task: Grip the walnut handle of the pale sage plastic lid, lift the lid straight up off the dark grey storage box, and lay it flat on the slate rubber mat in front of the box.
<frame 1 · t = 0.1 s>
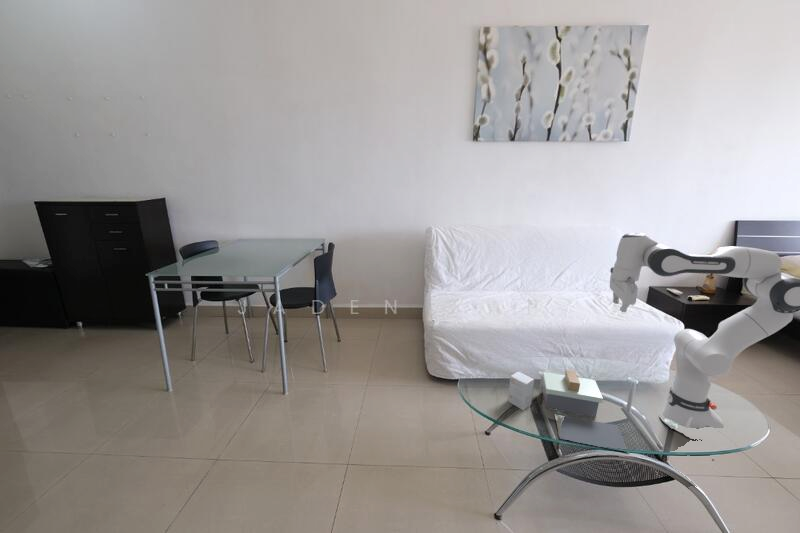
hand: (619, 307, 142), 48 cm above the table, fingers open, 8 cm apart
storage box: (567, 403, 158), on the table
lid: (570, 388, 156), point 8 cm above the table, touching storage box
mat: (588, 432, 141), on the table
small box: (519, 403, 158), on the table
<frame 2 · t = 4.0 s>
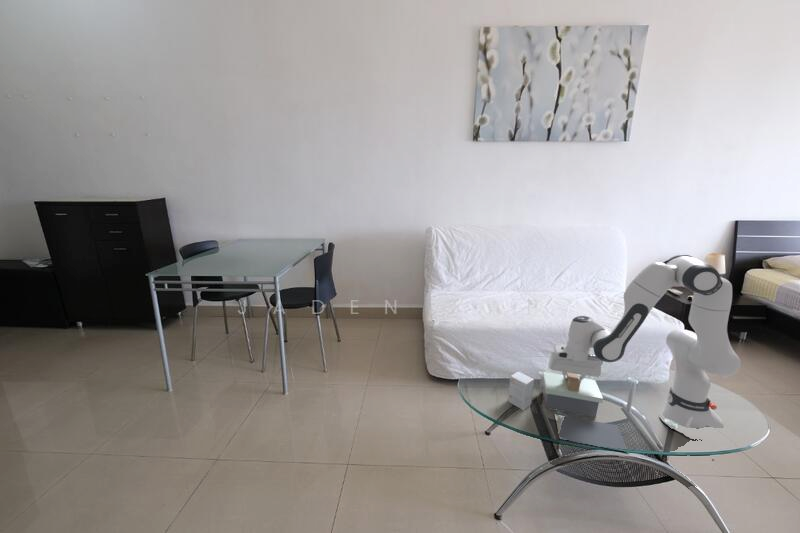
hand: (571, 381, 155), 12 cm above the table, fingers closed on lid, 4 cm apart
lid: (570, 388, 156), point 8 cm above the table, touching gripper, storage box
everything else where it was.
when the fingers open (5 cm above the table, at t = 12.3 s): lid drops 1 cm, resting on mat.
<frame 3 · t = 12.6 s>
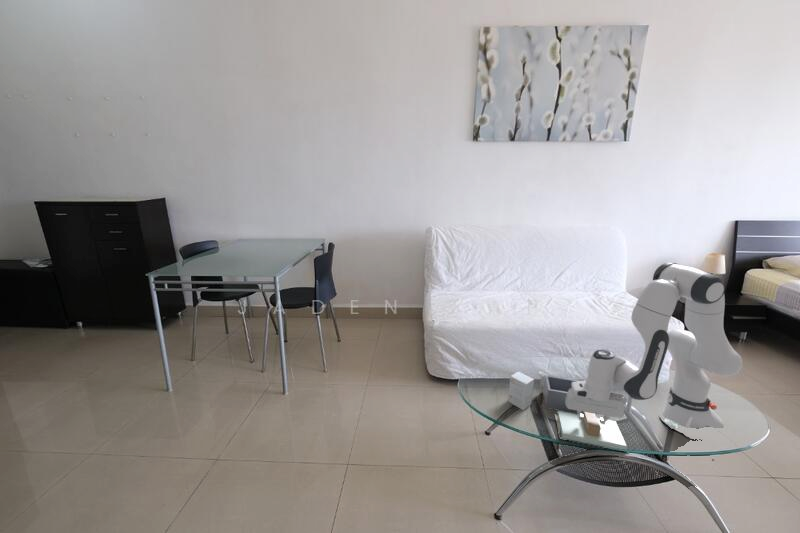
hand: (591, 421, 140), 5 cm above the table, fingers open, 6 cm apart
lid: (589, 431, 141), resting on mat
everything else where it was.
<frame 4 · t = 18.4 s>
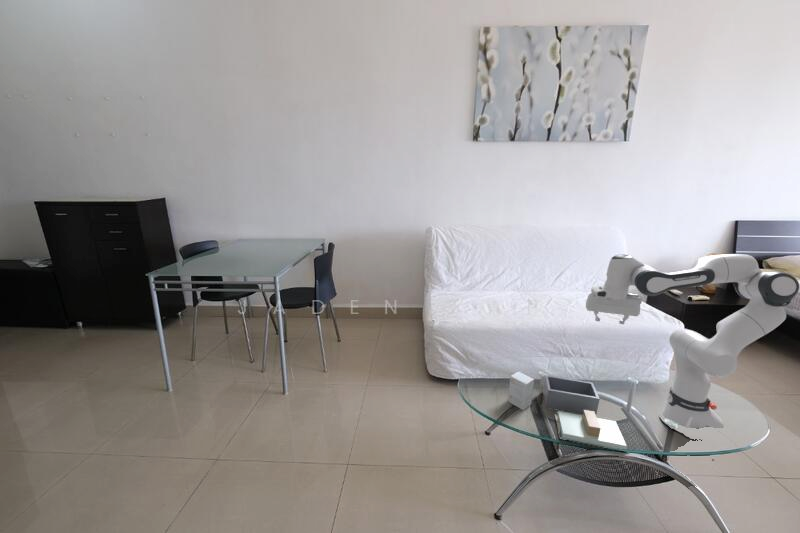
hand: (609, 322, 154), 37 cm above the table, fingers open, 8 cm apart
nothing on the table moved.
at the end: lid inside the target area (0.1 cm from its centre), resting on mat; lid tilted 0°; the gripper is holding nothing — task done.
